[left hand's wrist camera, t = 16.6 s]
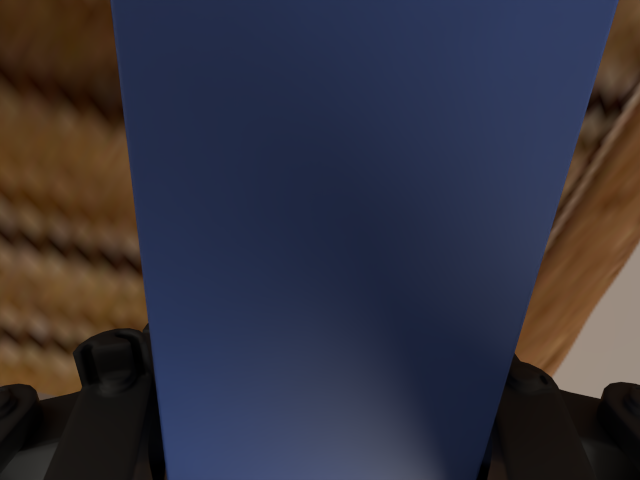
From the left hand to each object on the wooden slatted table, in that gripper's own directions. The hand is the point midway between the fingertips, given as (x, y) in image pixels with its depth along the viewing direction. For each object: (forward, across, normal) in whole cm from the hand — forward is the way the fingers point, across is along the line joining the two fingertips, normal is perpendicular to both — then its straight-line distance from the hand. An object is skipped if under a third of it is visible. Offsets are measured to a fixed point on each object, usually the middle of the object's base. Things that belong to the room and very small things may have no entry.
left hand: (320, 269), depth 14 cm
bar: (+1, -1, -10) cm, 10 cm away
